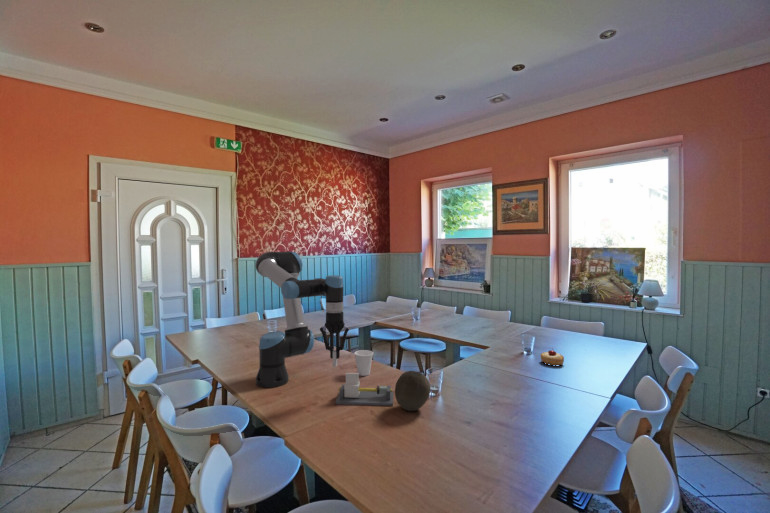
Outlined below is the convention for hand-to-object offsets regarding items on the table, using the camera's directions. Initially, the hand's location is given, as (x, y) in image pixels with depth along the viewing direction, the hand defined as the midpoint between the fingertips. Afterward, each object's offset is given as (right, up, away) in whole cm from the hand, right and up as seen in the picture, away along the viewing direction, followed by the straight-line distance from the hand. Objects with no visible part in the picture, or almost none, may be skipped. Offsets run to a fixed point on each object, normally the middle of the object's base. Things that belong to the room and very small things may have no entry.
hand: (335, 365), depth 154 cm
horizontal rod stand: (+13, -14, 0) cm, 19 cm away
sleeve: (+7, -13, 0) cm, 15 cm away
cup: (+11, -13, +29) cm, 34 cm away
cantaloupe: (+33, -15, -9) cm, 37 cm away
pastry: (+116, -13, +47) cm, 126 cm away
